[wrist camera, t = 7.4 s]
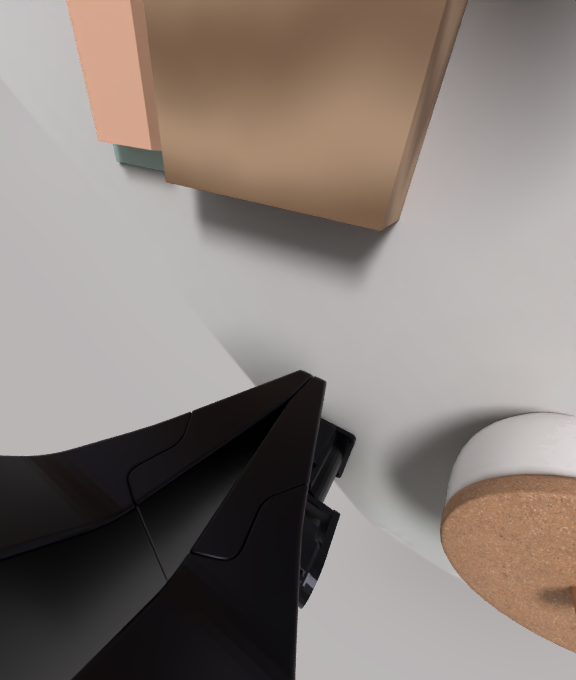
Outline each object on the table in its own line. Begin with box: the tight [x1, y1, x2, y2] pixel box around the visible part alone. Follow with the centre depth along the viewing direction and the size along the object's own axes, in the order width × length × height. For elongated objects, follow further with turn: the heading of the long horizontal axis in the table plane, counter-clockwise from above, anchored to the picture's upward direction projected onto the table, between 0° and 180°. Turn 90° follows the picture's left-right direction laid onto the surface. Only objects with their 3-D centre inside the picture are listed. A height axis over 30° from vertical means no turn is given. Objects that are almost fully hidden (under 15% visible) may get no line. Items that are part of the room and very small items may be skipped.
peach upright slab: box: [66, 0, 162, 151], centre depth 19 cm, size 9×6×2 cm, turn 173°
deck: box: [143, 0, 468, 231], centre depth 13 cm, size 12×14×4 cm
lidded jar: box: [440, 412, 576, 653], centre depth 14 cm, size 11×11×9 cm
